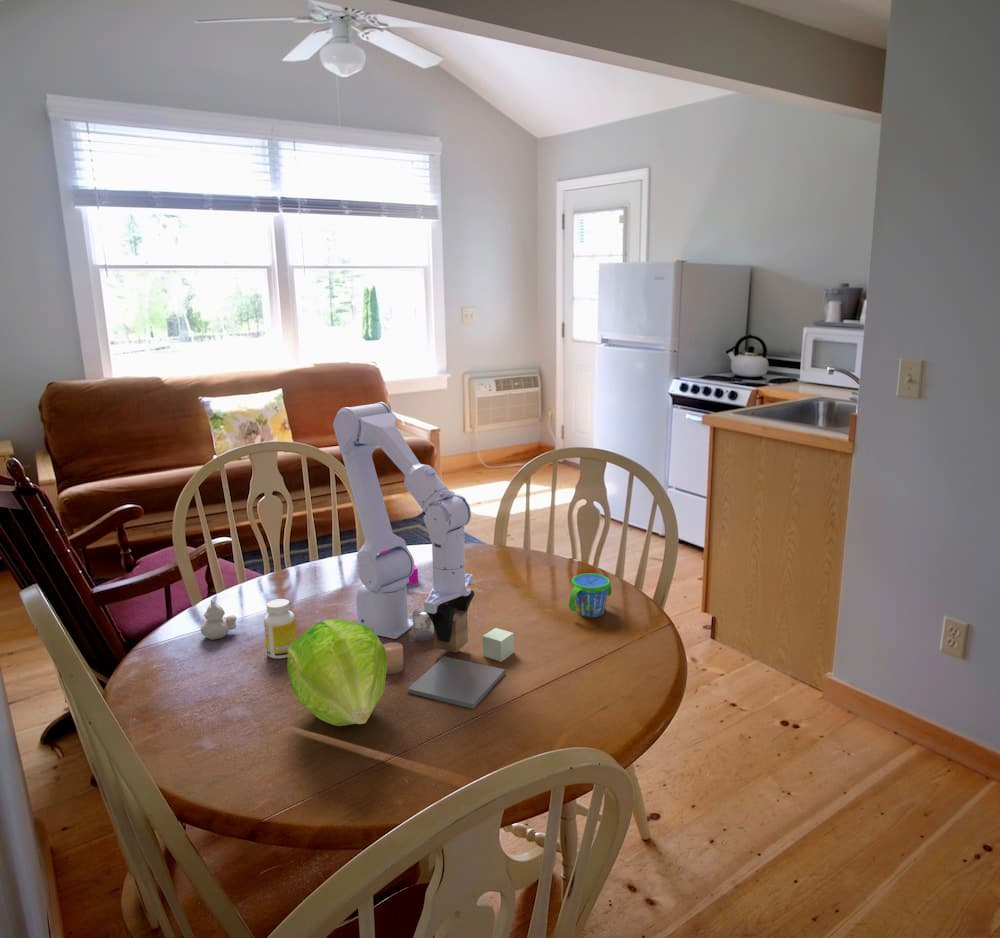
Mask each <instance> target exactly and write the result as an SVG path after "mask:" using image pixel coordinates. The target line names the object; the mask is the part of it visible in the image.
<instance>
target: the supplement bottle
mask: <svg viewBox="0 0 1000 938" xmlns="http://www.w3.org/2000/svg"><path fill="white" fill-rule="evenodd" d="M266 603H267V604H266V612H267V614H266V615H265V616H264V617H263V623H264V625H263V626H264V634H265V645H266V647H265V648H266V654H267V656H268V657H269V658H271V659H275V660H277V659H285V658H288V649H289V647H290V646H291V645H292V644H293V643H294V642H295V641H296V640H297V639H298V638H297V627H296V617H295V616H296V615H295V614H294V612H292V611H291V610H290V609H291V605H290V600H288V599H286V598H277V599H271V600H270V601H268V602H266Z"/></svg>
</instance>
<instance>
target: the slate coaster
mask: <svg viewBox="0 0 1000 938" xmlns="http://www.w3.org/2000/svg"><path fill="white" fill-rule="evenodd" d="M504 675H506V669H504V668H500V667H495V666H490V665H486V664H481V663H476V662H472V661H466V660H462V659H457V658H453V657H448V656H442V657H441V658H440V659H439V660H438V661H437V662H435V664H433V665H432V666H431V667H430V668H429V669H428V670H427V671H426V672H425V673H424V674H422V675H421V676H420V677H419V678H418V679H416V681H415V682H413V683H412V685H410V686H409V687H408V688H407V692H408V694H411V695H415V696H419V697H422V698H423V697H424V698H427V699H431V700H436V701H439V702H444V703H448V704H452V705H456V706H460V707H465V708H469V709H472V710H474V709H475V708H476V707H477V706H478V705H479V703H481V701H482V700H483V699H484V698H485V697H486V695H487V694H488V693H489V692H490V691H491V690H492V689H493V688H494V686H495V685H496V684H497V683H498V682H500V680H501V679H502V678H503V677H504Z"/></svg>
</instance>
